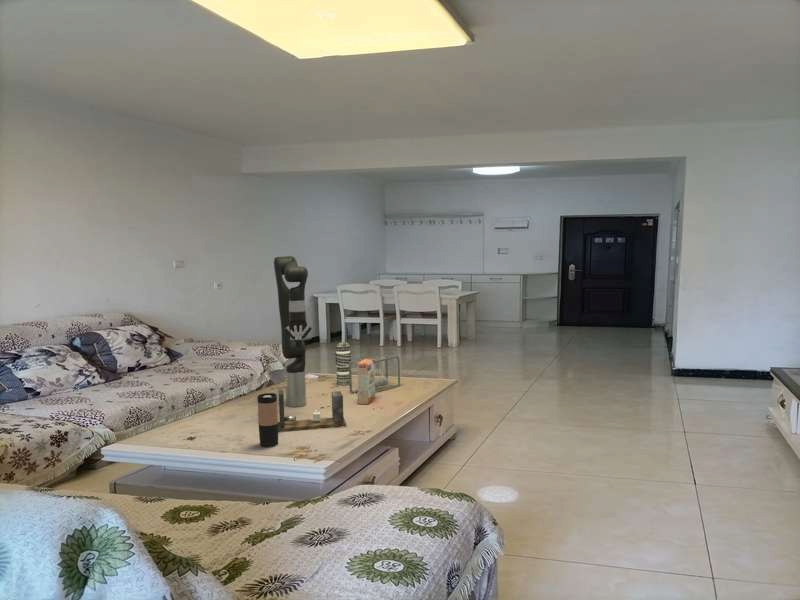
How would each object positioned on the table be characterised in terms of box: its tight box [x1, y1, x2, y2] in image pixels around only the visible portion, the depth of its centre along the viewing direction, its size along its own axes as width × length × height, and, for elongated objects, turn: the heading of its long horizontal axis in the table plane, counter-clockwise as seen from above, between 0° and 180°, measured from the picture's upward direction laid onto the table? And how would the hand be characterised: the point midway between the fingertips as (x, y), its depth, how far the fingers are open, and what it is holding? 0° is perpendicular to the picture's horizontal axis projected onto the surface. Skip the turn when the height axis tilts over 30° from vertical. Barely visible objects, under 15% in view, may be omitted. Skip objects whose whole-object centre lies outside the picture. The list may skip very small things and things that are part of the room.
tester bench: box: [278, 390, 347, 433], centre depth 267 cm, size 32×11×14 cm, turn 102°
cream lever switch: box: [312, 409, 321, 421], centre depth 270 cm, size 3×7×3 cm, turn 12°
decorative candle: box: [334, 341, 352, 388], centre depth 346 cm, size 9×9×25 cm
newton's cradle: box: [349, 354, 401, 394], centre depth 334 cm, size 30×10×18 cm, turn 139°
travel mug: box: [257, 392, 279, 448], centre depth 242 cm, size 8×8×20 cm
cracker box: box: [356, 358, 376, 405], centre depth 309 cm, size 14×6×21 cm, turn 168°
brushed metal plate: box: [278, 389, 297, 427], centre depth 265 cm, size 7×9×14 cm
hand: (298, 347), depth 279 cm, fingers closed
